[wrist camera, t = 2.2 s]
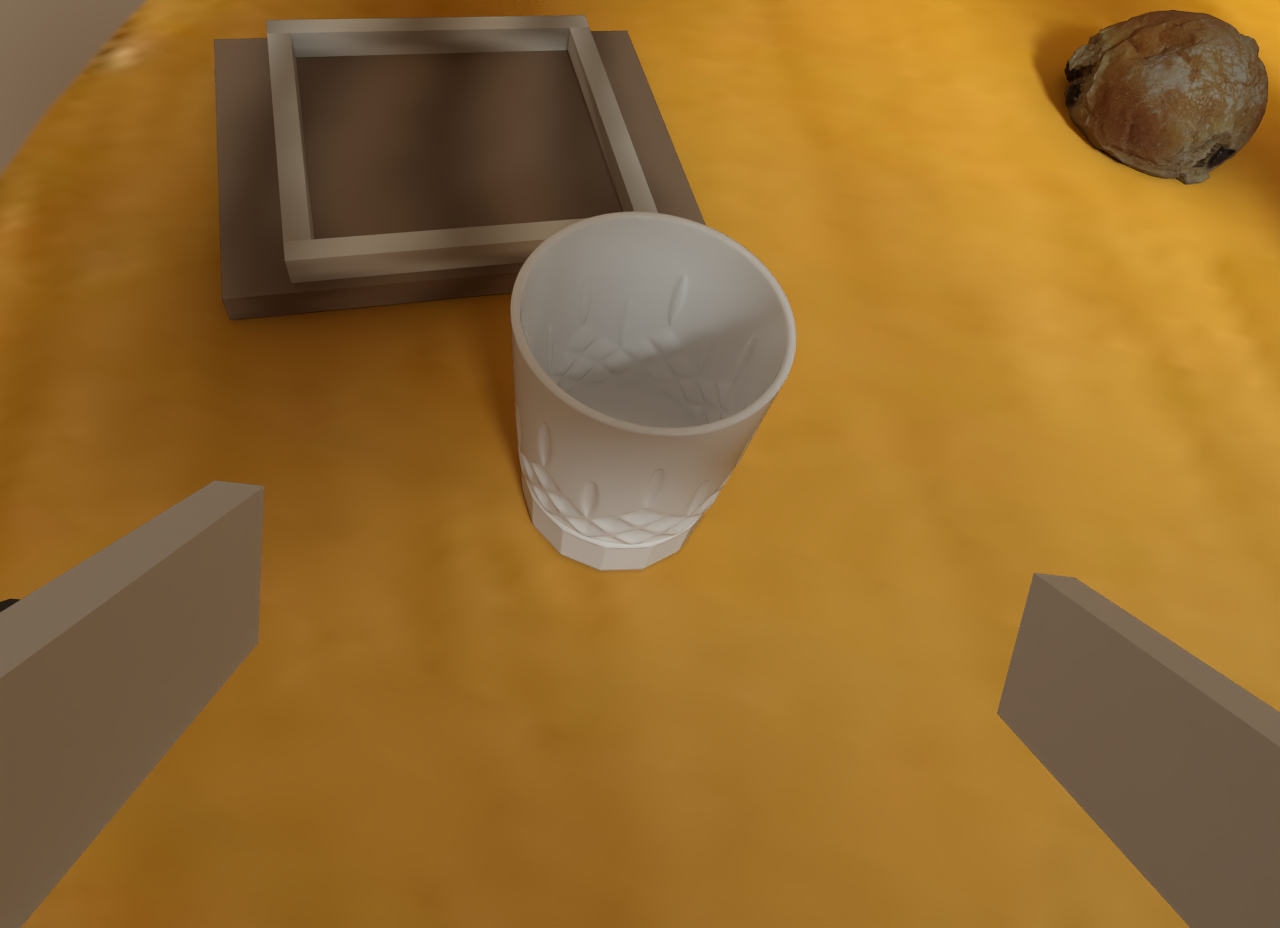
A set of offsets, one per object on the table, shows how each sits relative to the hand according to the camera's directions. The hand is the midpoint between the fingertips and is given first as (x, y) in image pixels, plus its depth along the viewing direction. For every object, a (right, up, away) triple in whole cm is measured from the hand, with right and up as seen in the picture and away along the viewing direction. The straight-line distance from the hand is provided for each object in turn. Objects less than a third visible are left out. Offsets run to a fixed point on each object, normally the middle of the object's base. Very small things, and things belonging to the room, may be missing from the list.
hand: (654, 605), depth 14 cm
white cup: (-1, +1, +17) cm, 18 cm away
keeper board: (-9, +16, +25) cm, 31 cm away
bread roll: (+29, +22, +35) cm, 50 cm away
